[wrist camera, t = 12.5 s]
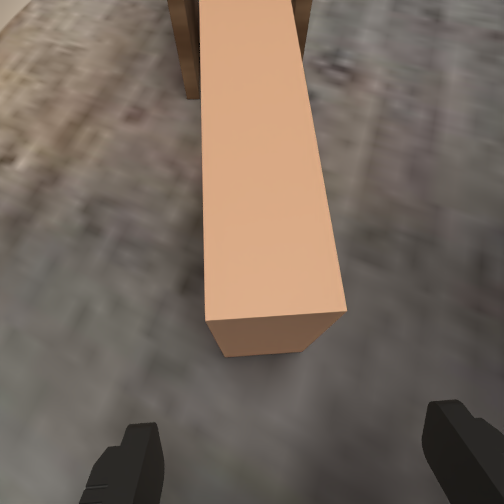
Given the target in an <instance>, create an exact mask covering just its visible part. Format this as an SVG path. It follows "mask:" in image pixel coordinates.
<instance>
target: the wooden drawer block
mask: <svg viewBox="0 0 504 504" xmlns="http://www.w3.org/2000/svg"><path fill="white" fill-rule="evenodd" d="M199 11H200V65H201V118H202V171H203V225H204V278H205V321H206V323H207V325H208V327H209V329H210V330H211V332H212V334H213V336H214V338H215V340H216V342H217V344H218V345H219V347H220V349H221V351H222V353H223V355H224V357H236V356H250V355H264V354H278V353H291V352H302V351H304V350H305V349H306V348H307V347H308V346H309V345H310V344H311V343H312V342H314V341H315V340H316V339H317V338H318V337H319V336H320V335H321V334H322V333H323V332H325V331H326V330H327V329H328V328H329V327H330V326H331V325H332V324H333V323H335V322H336V321H337V320H338V319H339V318H340V317H341V316H342V315H343V314H344V313H346V312H347V307H346V302H345V296H344V291H343V285H342V280H341V274H340V268H339V263H338V257H337V252H336V246H335V241H334V235H333V230H332V224H331V219H330V213H329V208H328V202H327V197H326V191H325V186H324V180H323V174H322V169H321V163H320V158H319V152H318V147H317V141H316V136H315V130H314V125H313V119H312V114H311V108H310V103H309V97H308V92H307V86H306V80H305V75H304V69H303V64H302V58H301V53H300V47H299V42H298V36H297V31H296V25H295V20H294V14H293V9H292V3H291V0H199Z"/></svg>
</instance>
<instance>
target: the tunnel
mask: <svg viewBox="0 0 504 504" xmlns="http://www.w3.org/2000/svg"><path fill="white" fill-rule="evenodd" d="M167 2H168V7H169V12H170V17H171V22H172V27H173V32H174V36H175V41H176V46H177V51H178V56H179V61H180V66H181V71H182V76H183V81H184V86H185V91H186V96H187V99H200V97H199V36H198V0H167ZM291 3H292V9H293V14H294V20H295V25H296V31H297V36H298V42H299V47H300V53H301V58H302V61H303V55H304V49H305V42H306V36H307V30H308V24H309V17H310V11H311V5H312V0H291Z"/></svg>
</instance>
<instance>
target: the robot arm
mask: <svg viewBox="0 0 504 504" xmlns="http://www.w3.org/2000/svg"><path fill="white" fill-rule="evenodd" d="M422 448H423V452H424V455H425V458H426V460H427V462H428V464H429V466H430V467H431V469H432V471H433V473H434V475H435V476H436V478H437V480H438V482H439V484H440V485H441V487H442V489H443V491H444V492H445V494H446V496H447V498H448V500H449V501H450V503H451V504H504V435H503V434H502V433H501V432H500V431H499V430H497V429H496V428H494V427H493V426H492V425H490V424H489V423H488V422H486V421H485V420H484V419H482V418H474V417H473V416H472V415H471V413H470V412H469V411H468V410H467V408H466V407H465V406H464V405H463V403H461V402H460V401H459V400H444V401H431V402H430V403H429V404H428V408H427V413H426V418H425V424H424V429H423V434H422ZM163 480H164V457H163V452H162V447H161V442H160V437H159V432H158V427H157V424H156V423H155V422H152V423H140V424H129V425H128V427H127V428H126V431H125V434H124V437H123V440H122V443H121V446H113V447H108V448H107V449H106V450H105V452H104V453H103V454H102V455H101V457H100V458H99V459H98V460H97V462H96V463H95V464H94V466H93V468H92V471H91V474H90V476H89V479H88V481H87V484H86V489H85V490H84V492H83V494H82V497H81V499H80V502H79V504H159V503H160V498H161V492H162V487H163Z"/></svg>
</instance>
